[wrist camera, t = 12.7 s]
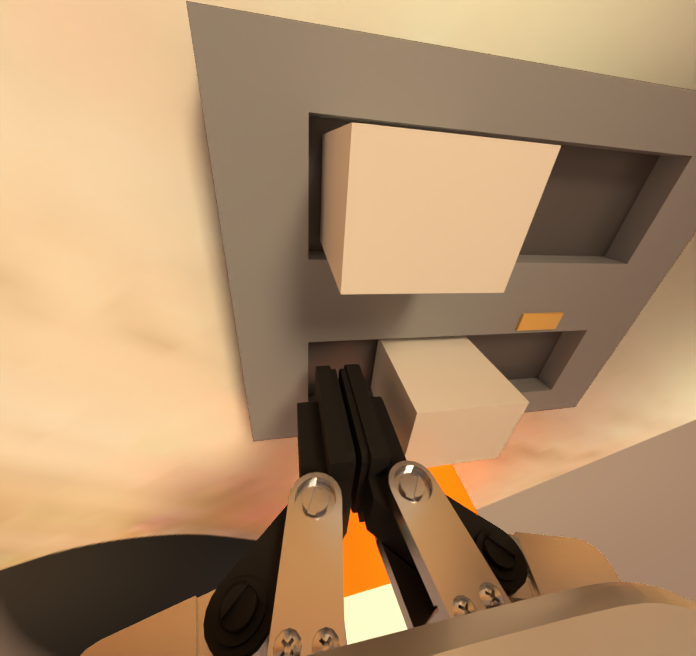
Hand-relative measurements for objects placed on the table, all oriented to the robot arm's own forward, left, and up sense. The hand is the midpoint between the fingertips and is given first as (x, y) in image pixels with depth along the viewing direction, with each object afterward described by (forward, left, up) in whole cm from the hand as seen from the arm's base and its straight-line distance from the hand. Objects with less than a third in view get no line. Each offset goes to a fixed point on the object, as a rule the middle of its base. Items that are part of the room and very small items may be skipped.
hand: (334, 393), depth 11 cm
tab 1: (-1, -7, -2) cm, 7 cm away
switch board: (-6, -4, -3) cm, 7 cm away
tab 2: (-4, 0, -2) cm, 4 cm away
